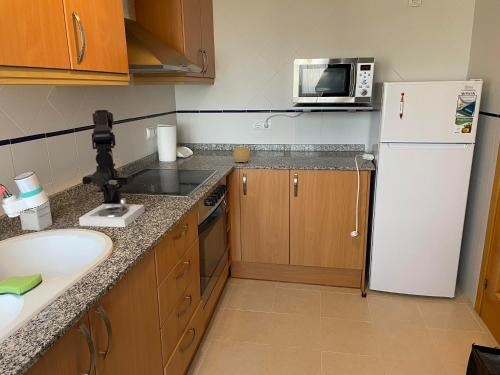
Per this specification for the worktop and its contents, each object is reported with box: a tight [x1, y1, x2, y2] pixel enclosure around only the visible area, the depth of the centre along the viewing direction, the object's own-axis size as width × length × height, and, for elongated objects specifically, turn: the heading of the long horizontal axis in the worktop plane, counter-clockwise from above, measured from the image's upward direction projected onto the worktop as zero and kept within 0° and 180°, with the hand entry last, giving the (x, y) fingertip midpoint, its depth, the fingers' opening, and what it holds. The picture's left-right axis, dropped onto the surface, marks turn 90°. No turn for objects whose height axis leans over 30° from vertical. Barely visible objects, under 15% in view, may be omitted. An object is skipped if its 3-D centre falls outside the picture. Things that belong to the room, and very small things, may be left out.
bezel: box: [78, 203, 146, 228], centre depth 149 cm, size 18×18×3 cm
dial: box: [98, 197, 128, 217], centre depth 148 cm, size 11×11×6 cm
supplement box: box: [19, 192, 53, 232], centre depth 139 cm, size 7×7×13 cm
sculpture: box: [233, 146, 251, 163], centre depth 257 cm, size 12×12×11 cm
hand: (110, 200), depth 152 cm, fingers closed
